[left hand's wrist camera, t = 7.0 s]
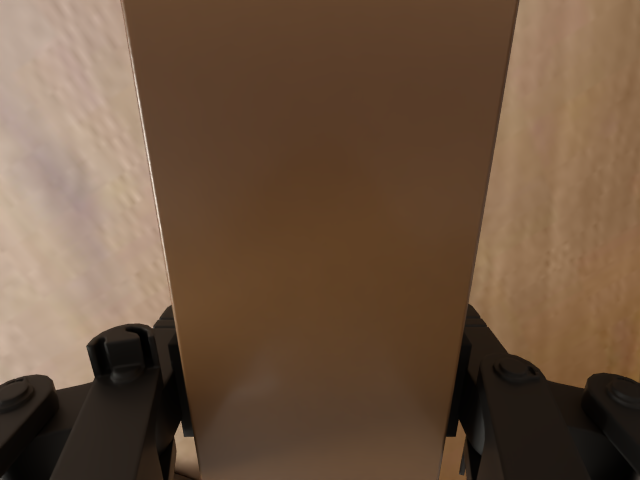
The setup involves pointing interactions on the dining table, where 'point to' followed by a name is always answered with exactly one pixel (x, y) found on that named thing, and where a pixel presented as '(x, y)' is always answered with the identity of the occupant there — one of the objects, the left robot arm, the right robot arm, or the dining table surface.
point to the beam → (319, 219)
